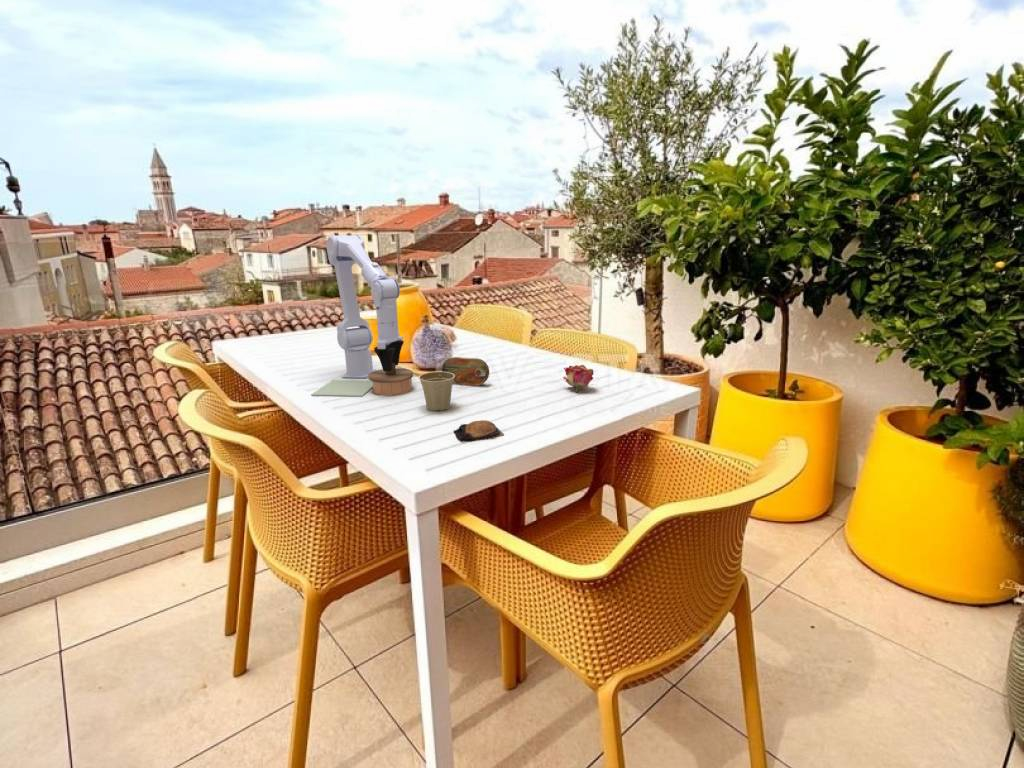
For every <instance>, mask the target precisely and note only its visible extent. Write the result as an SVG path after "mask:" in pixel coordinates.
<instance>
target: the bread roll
mask: <svg viewBox="0 0 1024 768" xmlns="http://www.w3.org/2000/svg"><path fill="white" fill-rule="evenodd" d="M453 434H454V435H455V437H456V439H457V441H459V442H464V443H473V442H479V441H485V440H490V439H494V438H495V439H496V438H500V437H504V436H505V434H504V433H503V432H502V430H500V429H499V428H498V427H497V426H496V424H494V423H493V422H492V421H489V420H487V419H486V420H485V419H483V420H475V421H471V422H469V423H463V424H460V425H459V426H458V428H456V429H455V430H453Z"/></svg>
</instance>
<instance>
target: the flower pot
mask: <svg viewBox="0 0 1024 768" xmlns="http://www.w3.org/2000/svg"><path fill="white" fill-rule="evenodd" d="M454 378H455V375H454V374H453V373H449V372H442V370H441V371H430V372H424V373H422V374H420V375H419V376H418V380H420V384H421V387H422V389H423V394H424V400H425V405H426V409H428V410H431V411H434V412H435V411H438V410H439V411H444V410H448V409H449V408H450V407H451V399H452V389H453V384H452V383H453V380H454Z"/></svg>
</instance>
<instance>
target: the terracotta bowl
mask: <svg viewBox="0 0 1024 768" xmlns="http://www.w3.org/2000/svg"><path fill="white" fill-rule="evenodd" d="M412 378H413V377H412ZM412 378H410V379H408V380H404V381H400V382H391V383H380V382H373V381H372V384H373V388H372V391H373V392H374V394H377V395H380V396H395V395H402V394H406V393H408V392H409V393H410V391H411V390H412V389H413V382H412Z"/></svg>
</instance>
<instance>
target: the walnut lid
mask: <svg viewBox="0 0 1024 768" xmlns="http://www.w3.org/2000/svg"><path fill="white" fill-rule="evenodd" d="M396 366H397V365H395V363H392V369H391V371H383V368H381V369H376V371H373V372H371V373H369V374H368V377H367V378H368V381H373V382H380V383H391V382H400V381H404V380H408V379H410V378H413V377H414V371H413V370H411V369H409V368H401V367H398V368H397V367H396Z"/></svg>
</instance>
